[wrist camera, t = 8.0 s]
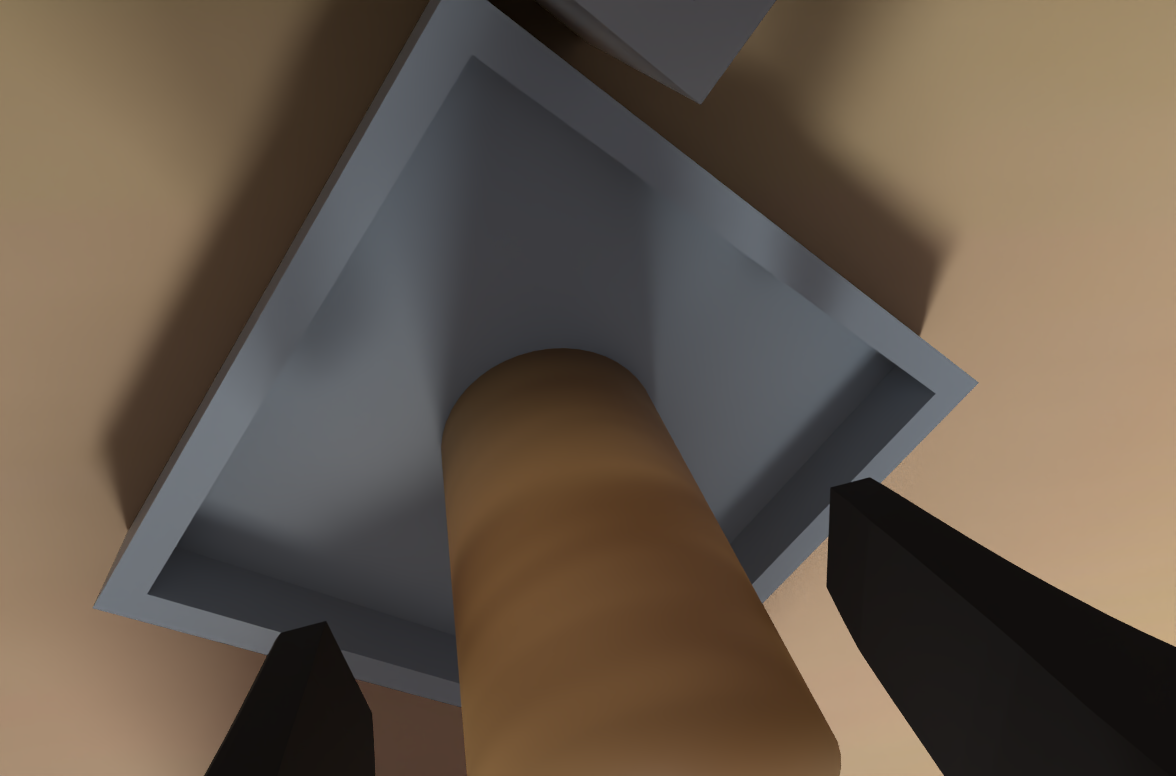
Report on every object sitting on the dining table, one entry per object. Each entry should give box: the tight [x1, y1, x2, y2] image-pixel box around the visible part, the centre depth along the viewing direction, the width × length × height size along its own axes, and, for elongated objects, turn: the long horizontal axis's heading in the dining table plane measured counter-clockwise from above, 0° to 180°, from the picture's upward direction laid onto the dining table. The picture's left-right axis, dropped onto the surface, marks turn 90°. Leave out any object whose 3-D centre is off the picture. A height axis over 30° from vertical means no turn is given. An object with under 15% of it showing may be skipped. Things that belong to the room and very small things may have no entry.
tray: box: [93, 0, 978, 707], centre depth 14 cm, size 11×11×2 cm
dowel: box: [441, 348, 841, 776], centre depth 11 cm, size 4×4×7 cm
